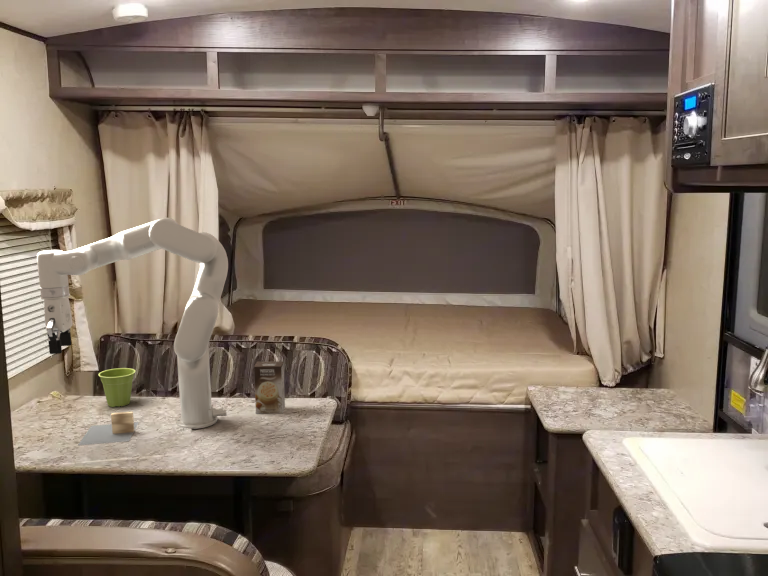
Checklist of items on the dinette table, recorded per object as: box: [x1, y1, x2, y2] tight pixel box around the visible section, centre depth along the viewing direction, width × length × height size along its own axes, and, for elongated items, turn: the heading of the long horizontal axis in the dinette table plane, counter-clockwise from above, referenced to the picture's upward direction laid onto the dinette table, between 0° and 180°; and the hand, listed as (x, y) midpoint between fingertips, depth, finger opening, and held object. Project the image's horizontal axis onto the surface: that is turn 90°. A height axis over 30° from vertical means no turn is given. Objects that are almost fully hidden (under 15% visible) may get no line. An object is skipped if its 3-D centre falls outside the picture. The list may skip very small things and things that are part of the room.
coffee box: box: [253, 361, 286, 415], centre depth 216 cm, size 9×6×16 cm
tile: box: [110, 410, 135, 434], centre depth 198 cm, size 6×2×6 cm, turn 101°
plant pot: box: [98, 367, 136, 408], centre depth 226 cm, size 12×12×11 cm
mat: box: [77, 421, 139, 446], centre depth 198 cm, size 14×16×1 cm
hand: (60, 349), depth 195 cm, fingers open, 9 cm apart
